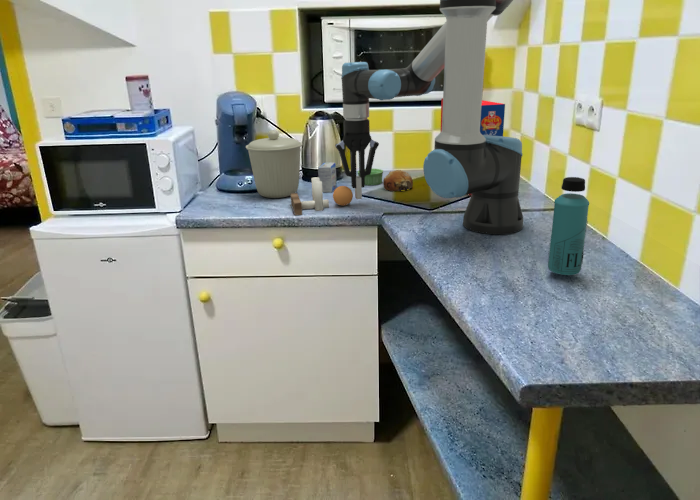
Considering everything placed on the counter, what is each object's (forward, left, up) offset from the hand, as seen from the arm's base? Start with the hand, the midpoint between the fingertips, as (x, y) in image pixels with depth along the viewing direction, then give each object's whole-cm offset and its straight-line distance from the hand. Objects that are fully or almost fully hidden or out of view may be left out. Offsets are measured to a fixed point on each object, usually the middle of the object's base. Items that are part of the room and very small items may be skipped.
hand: (358, 198), depth 161 cm
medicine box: (+21, +6, -2) cm, 22 cm away
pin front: (0, +9, -1) cm, 9 cm away
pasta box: (+9, -39, -2) cm, 40 cm away
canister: (+20, +23, -2) cm, 31 cm away
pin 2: (-2, +12, -2) cm, 13 cm away
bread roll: (+15, -17, -2) cm, 23 cm away
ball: (0, +5, +1) cm, 5 cm away
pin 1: (+2, +12, -2) cm, 13 cm away
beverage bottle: (-65, -28, -2) cm, 71 cm away
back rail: (0, +19, -2) cm, 19 cm away
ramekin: (+26, -10, -2) cm, 28 cm away
